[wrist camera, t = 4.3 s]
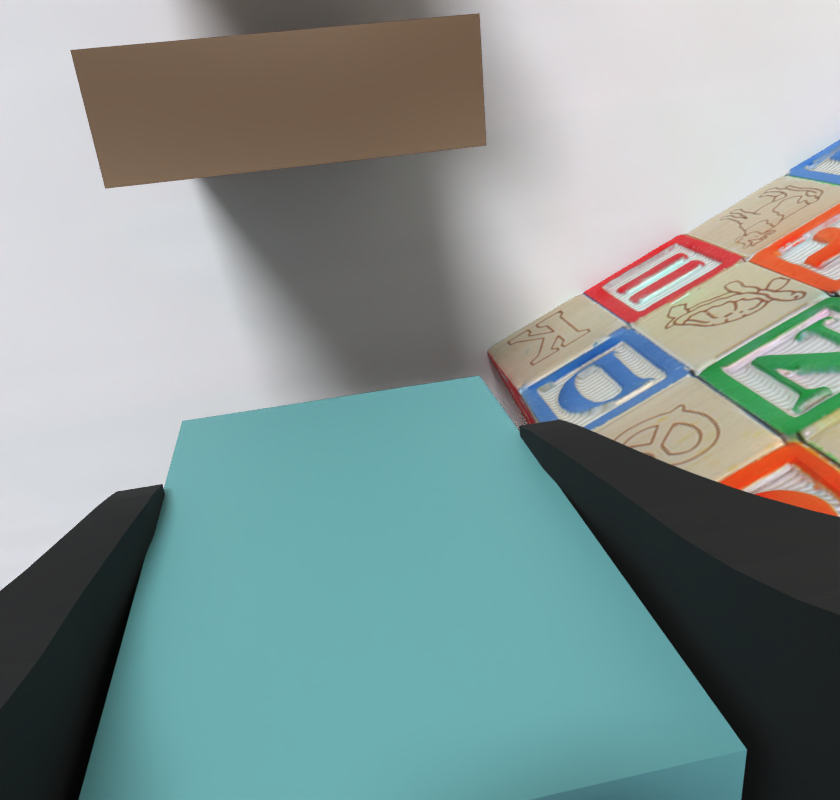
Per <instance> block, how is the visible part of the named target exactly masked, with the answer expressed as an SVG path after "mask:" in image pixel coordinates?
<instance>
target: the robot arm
mask: <svg viewBox="0 0 840 800" xmlns="http://www.w3.org/2000/svg"><path fill="white" fill-rule="evenodd" d="M520 437H521V438H522V440H523V441H524V442H525V444H526V445H527V447H528V448H529V450H530V451H531V452H532V454H533V455H534V457H535V458H536V459H537V461H538V462H539V464H540V465H541V467H542V468H543V469H544V470H545V471H546V472H547V474H548V475H549V476H550V477H551V478H552V479H553V480H554V481H555V482H556V483H557V485H558V486H559V487H560V489H561V490H562V492H563V493H564V494H565V496H566V497H567V499H568V500H569V501H570V503H571V504H572V506H573V507H574V508H575V510H576V511H577V513H578V514H579V515H580V517H581V518H582V520H583V521H584V522H585V524H586V525H587V527H588V528H589V529H590V531H591V532H592V534H593V535H594V536H595V538H596V539H597V541H598V542H599V543H600V545H601V546H602V548H603V549H604V550H605V552H606V553H607V555H608V556H609V557H610V559H611V560H612V562H613V563H614V564H615V566H616V567H617V569H618V570H619V571H620V573H621V574H622V576H623V577H624V578H625V580H626V581H627V583H628V584H629V585H630V587H631V588H632V590H633V591H634V592H635V594H636V595H637V597H638V598H639V599H640V601H641V602H642V604H643V605H644V606H645V608H646V609H647V611H648V612H649V613H650V615H651V616H652V618H653V619H654V620H655V622H656V623H657V625H658V626H659V627H660V629H661V630H662V632H663V633H664V634H665V636H666V637H667V639H668V640H669V641H670V643H671V644H672V646H673V647H674V648H675V650H676V651H677V653H678V654H679V655H680V657H681V658H682V660H683V661H684V662H685V664H686V665H687V667H688V668H689V669H690V671H691V672H692V674H693V675H694V676H695V678H696V679H697V680H698V682H699V683H700V685H701V686H702V687H703V689H704V690H705V692H706V693H707V694H708V696H709V697H710V699H711V700H712V701H713V703H714V704H715V706H716V707H717V708H718V710H719V711H720V713H721V714H722V715H723V717H724V718H725V720H726V721H727V722H728V724H729V725H730V727H731V728H732V729H733V731H734V732H735V734H736V735H737V736H738V738H739V739H740V741H741V742H742V743H743V745H744V746H745V748H746V749H747V754H746V763H745V771H744V780H743V789H742V797H741V800H840V517H838V516H833V515H829V514H825V513H821V512H816V511H812V510H808V509H805V508H801V507H798V506H794V505H790V504H787V503H783V502H779V501H776V500H772V499H769V498H765V497H761V496H758V495H755V494H752V493H749V492H745V491H742V490H739V489H736V488H733V487H730V486H727V485H725V484H722V483H719V482H716V481H713V480H711V479H708V478H705V477H702V476H700V475H697V474H694V473H691V472H689V471H686V470H684V469H681V468H679V467H676V466H673V465H671V464H668V463H666V462H664V461H661V460H659V459H656V458H654V457H652V456H649V455H647V454H644V453H642V452H640V451H637V450H635V449H633V448H630V447H628V446H626V445H624V444H621V443H619V442H617V441H614V440H612V439H610V438H607V437H605V436H603V435H601V434H598V433H596V432H593V431H591V430H589V429H586V428H584V427H581V426H579V425H576V424H573V423H571V422H567V421H564V420H560V419H559V420H553V421H547V422H541V423H534V424H528V425H522V426H520ZM164 496H165V493H164V489H163V485H162V484H161V485H155V486H149V487H142V488H136V489H130V490H124V491H118V492H115V493H114V494H113V495H111V496H110V497H108V498H107V499H106V500H105V501H103V502H102V503H101V504H100V505H99V506H97V507H96V508H95V509H94V510H93V511H92V512H91V513H89V514H88V515H87V516H86V517H85V518H84V519H83V520H82V521H80V522H79V523H78V524H77V525H76V526H75V527H74V528H73V529H72V530H70V531H69V532H68V533H67V534H66V535H65V536H64V537H63V538H61V539H60V540H59V541H58V542H57V543H56V544H55V545H54V546H52V547H51V548H50V549H49V550H48V551H47V552H46V553H45V554H43V555H42V556H41V557H40V558H39V559H38V560H37V561H36V562H34V563H33V564H32V565H31V566H30V567H29V568H28V569H26V570H25V571H24V572H23V573H22V574H21V575H19V576H18V577H17V578H16V579H14V580H13V581H12V582H11V583H10V584H8V585H7V586H6V587H5V588H3V589H2V590H1V591H0V800H79V796H80V792H81V789H82V785H83V782H84V778H85V774H86V771H87V767H88V763H89V760H90V756H91V752H92V749H93V745H94V741H95V738H96V734H97V731H98V727H99V723H100V720H101V716H102V712H103V709H104V705H105V701H106V698H107V694H108V691H109V687H110V683H111V680H112V676H113V672H114V669H115V665H116V661H117V658H118V654H119V650H120V647H121V643H122V640H123V636H124V632H125V629H126V625H127V621H128V618H129V614H130V610H131V607H132V603H133V600H134V596H135V592H136V589H137V585H138V581H139V578H140V574H141V570H142V567H143V563H144V559H145V556H146V553H147V551H148V548H149V546H150V544H151V541H152V539H153V537H154V534H155V530H156V526H157V522H158V519H159V515H160V511H161V507H162V504H163V500H164Z"/></svg>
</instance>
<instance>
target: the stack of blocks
mask: <svg viewBox="0 0 840 800" xmlns="http://www.w3.org/2000/svg"><path fill="white" fill-rule="evenodd" d="M488 355H489V356H490V358H491V360H492V362H493V363H494V365H495V367H496V369H497V370H498V372H499V374H500V376H501V377H502V379H503V381H504V383H505V384H506V386H507V388H508V389H509V391H510V393H511V395H512V397H513V398H514V400H515V402H516V403H517V405H518V407H519V408H520V410H521V412H522V414H523V415H524V417H525V419H526V420H527V422H528V424H534V423H541V422H547V421H553V420H559V419H560V420H564V421H567V422H571V423H573V424H576V425H579V426H581V427H584V428H586V429H589V430H591V431H593V432H596V433H598V434H601V435H603V436H605V437H607V438H610V439H612V440H614V441H617V442H619V443H621V444H624V445H626V446H628V447H630V448H633V449H635V450H637V451H640V452H642V453H644V454H647V455H649V456H652V457H654V458H656V459H659V460H661V461H664V462H666V463H668V464H671V465H673V466H676V467H679V468H681V469H684V470H686V471H689V472H691V473H694V474H697V475H700V476H702V477H705V478H708V479H711V480H713V481H716V482H719V483H722V484H725V485H727V486H730V487H733V488H736V489H739V490H742V491H745V492H749V493H752V494H755V495H758V496H761V497H765V498H769V499H772V500H776V501H779V502H783V503H787V504H790V505H794V506H798V507H801V508H805V509H808V510H812V511H816V512H821V513H825V514H829V515H833V516H838V517H840V140H839V141H837V142H835V143H834V144H832V145H831V146H829V147H827V148H826V149H824V150H822V151H821V152H819V153H817V154H816V155H814V156H812V157H811V158H809V159H807V160H806V161H804V162H802V163H801V164H799V165H797V166H795V167H794V168H792V169H790V171H789V172H788V173H787V174H786V175H785V176H783V177H780V178H778V179H776V180H774V181H772V182H771V183H769V184H767V185H766V186H764V187H762V188H761V189H759V190H757V191H756V192H754V193H752V194H751V195H749V196H748V197H746V198H744V199H743V200H741V201H739V202H738V203H736V204H734V205H733V206H731V207H730V208H728V209H726V210H725V211H723V212H721V213H720V214H718V215H716V216H715V217H713V218H711V219H710V220H708V221H706V222H705V223H703V224H701V225H700V226H698V227H697V228H695V229H693V230H692V231H690V232H689V233H687V234H685V235H679V236H677V237H675V238H673V239H672V240H670V241H669V242H667V243H665V244H663V245H661V246H660V247H658V248H656V249H655V250H653V251H651V252H650V253H648V254H647V255H645V256H643V257H642V258H640V259H638V260H637V261H635V262H633V263H632V264H630V265H628V266H627V267H625V268H623V269H622V270H620V271H618V272H617V273H615V274H613V275H612V276H610V277H608V278H607V279H605V280H603V281H602V282H600V283H598V284H597V285H595V286H593V287H592V288H590V289H589V290H587V291H585V292H584V293H583V294H581V295H578V296H576V297H574V298H572V299H570V300H569V301H567V302H565V303H563V304H562V305H560V306H558V307H557V308H555V309H553V310H552V311H550V312H548V313H547V314H545V315H543V316H542V317H540V318H538V319H537V320H535V321H533V322H532V323H530V324H528V325H527V326H525V327H523V328H522V329H520V330H518V331H517V332H515V333H513V334H512V335H510V336H508V337H507V338H505V339H503V340H502V341H500V342H498V343H497V344H495V345H494V346H492V347H491V348H490V349H489V350H488Z"/></svg>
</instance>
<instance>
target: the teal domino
mask: <svg viewBox="0 0 840 800" xmlns="http://www.w3.org/2000/svg"><path fill="white" fill-rule="evenodd" d="M164 493H165V496H164V500H163V504H162V507H161V511H160V515H159V519H158V522H157V526H156V530H155V534H154V537H153V539H152V541H151V544H150V546H149V548H148V551H147V553H146V556H145V559H144V563H143V567H142V570H141V574H140V578H139V581H138V585H137V589H136V592H135V596H134V600H133V603H132V607H131V610H130V614H129V618H128V621H127V625H126V629H125V632H124V636H123V640H122V643H121V647H120V650H119V654H118V658H117V661H116V665H115V669H114V672H113V676H112V680H111V683H110V687H109V691H108V694H107V698H106V701H105V705H104V709H103V712H102V716H101V720H100V723H99V727H98V731H97V734H96V738H95V741H94V745H93V749H92V752H91V756H90V760H89V763H88V767H87V771H86V774H85V778H84V782H83V785H82V789H81V792H80V796H79V800H741V797H742V789H743V780H744V771H745V763H746V754H747V749H746V748H745V746H744V745H743V743H742V742H741V741H740V739H739V738H738V736H737V735H736V734H735V732H734V731H733V729H732V728H731V727H730V725H729V724H728V722H727V721H726V720H725V718H724V717H723V715H722V714H721V713H720V711H719V710H718V708H717V707H716V706H715V704H714V703H713V701H712V700H711V699H710V697H709V696H708V694H707V693H706V692H705V690H704V689H703V687H702V686H701V685H700V683H699V682H698V680H697V679H696V678H695V676H694V675H693V674H692V672H691V671H690V669H689V668H688V667H687V665H686V664H685V662H684V661H683V660H682V658H681V657H680V655H679V654H678V653H677V651H676V650H675V648H674V647H673V646H672V644H671V643H670V641H669V640H668V639H667V637H666V636H665V634H664V633H663V632H662V630H661V629H660V627H659V626H658V625H657V623H656V622H655V620H654V619H653V618H652V616H651V615H650V613H649V612H648V611H647V609H646V608H645V606H644V605H643V604H642V602H641V601H640V599H639V598H638V597H637V595H636V594H635V592H634V591H633V590H632V588H631V587H630V585H629V584H628V583H627V581H626V580H625V578H624V577H623V576H622V574H621V573H620V571H619V570H618V569H617V567H616V566H615V564H614V563H613V562H612V560H611V559H610V557H609V556H608V555H607V553H606V552H605V550H604V549H603V548H602V546H601V545H600V543H599V542H598V541H597V539H596V538H595V536H594V535H593V534H592V532H591V531H590V529H589V528H588V527H587V525H586V524H585V522H584V521H583V520H582V518H581V517H580V515H579V514H578V513H577V511H576V510H575V508H574V507H573V506H572V504H571V503H570V501H569V500H568V499H567V497H566V496H565V494H564V493H563V492H562V490H561V489H560V487H559V486H558V485H557V483H556V482H555V481H554V480H553V479H552V478H551V477H550V476H549V475H548V474H547V472H546V471H545V470H544V469H543V468H542V467H541V465H540V464H539V462H538V461H537V459H536V458H535V457H534V455H533V454H532V452H531V451H530V450H529V448H528V447H527V445H526V444H525V442H524V441H523V440H522V438H521V437H520V432H519V430H518V429H517V427H516V426H515V425H514V423H513V422H512V420H511V419H510V418H509V416H508V415H507V413H506V412H505V411H504V409H503V408H502V406H501V405H500V404H499V402H498V401H497V399H496V398H495V397H494V395H493V394H492V392H491V391H490V390H489V388H488V387H487V385H486V384H485V383H484V381H483V380H482V378H481V377H480V376H474V377H467V378H461V379H454V380H448V381H441V382H435V383H428V384H422V385H415V386H409V387H402V388H395V389H389V390H382V391H376V392H369V393H363V394H356V395H350V396H343V397H337V398H330V399H324V400H317V401H311V402H304V403H297V404H291V405H284V406H278V407H271V408H265V409H258V410H252V411H245V412H239V413H232V414H226V415H219V416H213V417H206V418H199V419H193V420H186V421H182V425H181V428H180V432H179V436H178V439H177V443H176V447H175V450H174V454H173V458H172V461H171V465H170V468H169V472H168V476H167V479H166V483H165V487H164Z"/></svg>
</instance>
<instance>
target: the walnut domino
mask: <svg viewBox="0 0 840 800" xmlns="http://www.w3.org/2000/svg"><path fill="white" fill-rule="evenodd" d="M71 54H72V58H73V62H74V66H75V70H76V74H77V78H78V82H79V86H80V90H81V94H82V98H83V102H84V106H85V110H86V114H87V118H88V122H89V126H90V130H91V134H92V138H93V142H94V146H95V150H96V153H97V157H98V161H99V165H100V169H101V173H102V177H103V181H104V185H105V188H114V187H123V186H132V185H141V184H150V183H158V182H167V181H176V180H185V179H194V178H203V177H211V176H220V175H229V174H238V173H247V172H256V171H265V170H273V169H282V168H291V167H300V166H309V165H318V164H326V163H335V162H344V161H353V160H362V159H371V158H379V157H388V156H397V155H406V154H415V153H424V152H433V151H441V150H450V149H459V148H468V147H477V146H486V130H485V111H484V92H483V73H482V54H481V35H480V15H479V14H468V15H457V16H446V17H435V18H423V19H412V20H401V21H390V22H379V23H368V24H357V25H345V26H334V27H323V28H312V29H301V30H290V31H279V32H267V33H256V34H245V35H234V36H223V37H212V38H201V39H189V40H178V41H167V42H156V43H145V44H134V45H123V46H111V47H100V48H89V49H78V50H71Z"/></svg>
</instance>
